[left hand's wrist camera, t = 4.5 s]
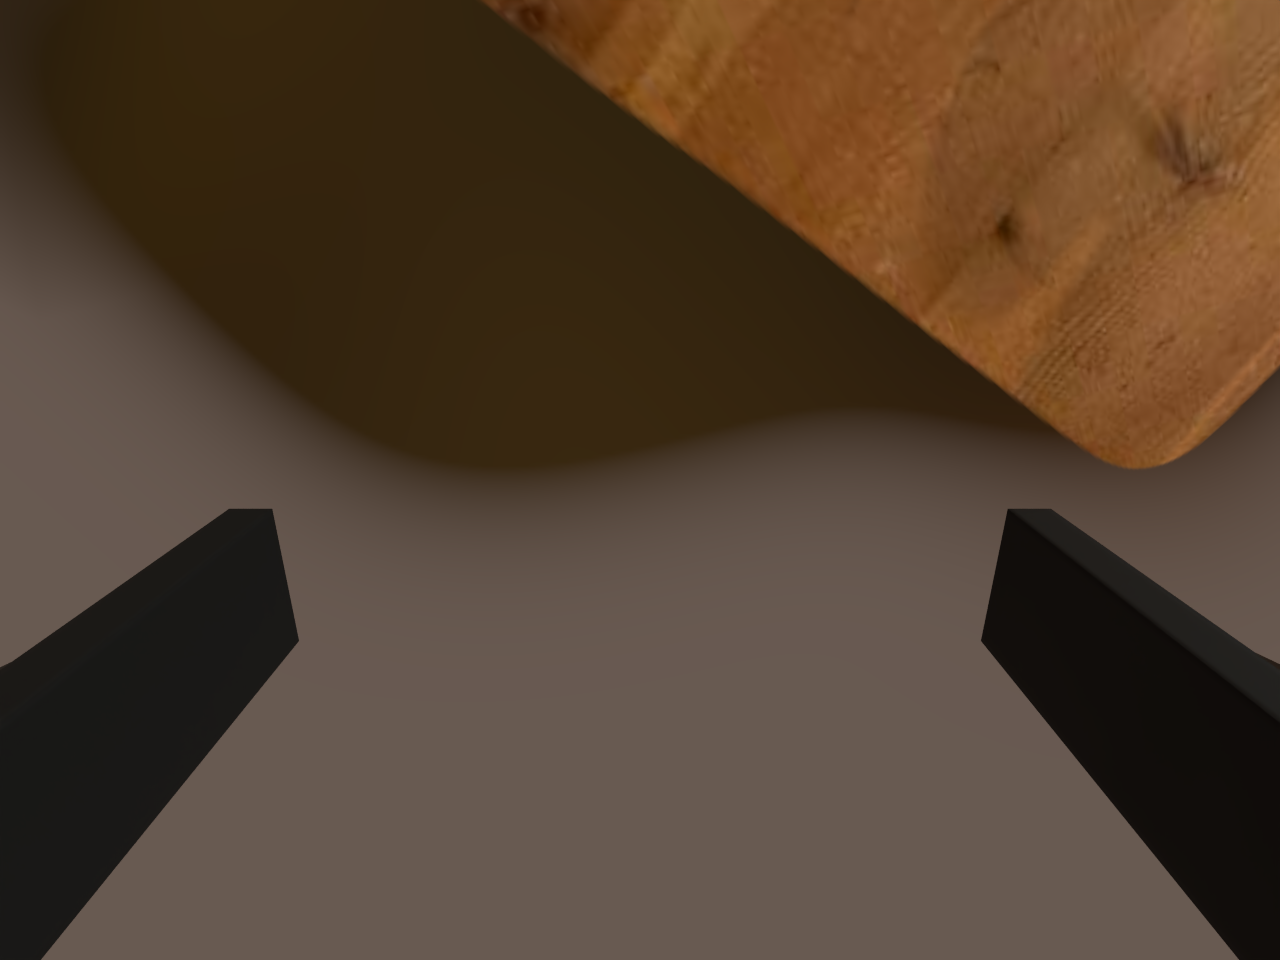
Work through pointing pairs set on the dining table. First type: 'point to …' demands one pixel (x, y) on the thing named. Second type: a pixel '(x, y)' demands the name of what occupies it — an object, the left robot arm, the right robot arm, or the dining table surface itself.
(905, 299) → the dining table surface
